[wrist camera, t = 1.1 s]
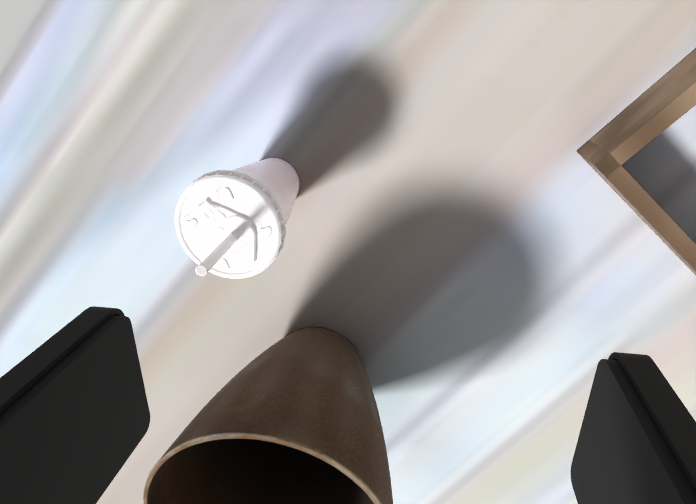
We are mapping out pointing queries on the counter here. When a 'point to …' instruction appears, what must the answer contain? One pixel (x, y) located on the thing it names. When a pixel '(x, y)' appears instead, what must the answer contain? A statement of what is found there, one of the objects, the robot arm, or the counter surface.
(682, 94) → the walnut bracket
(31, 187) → the counter surface
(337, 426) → the plant pot
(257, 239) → the smoothie
